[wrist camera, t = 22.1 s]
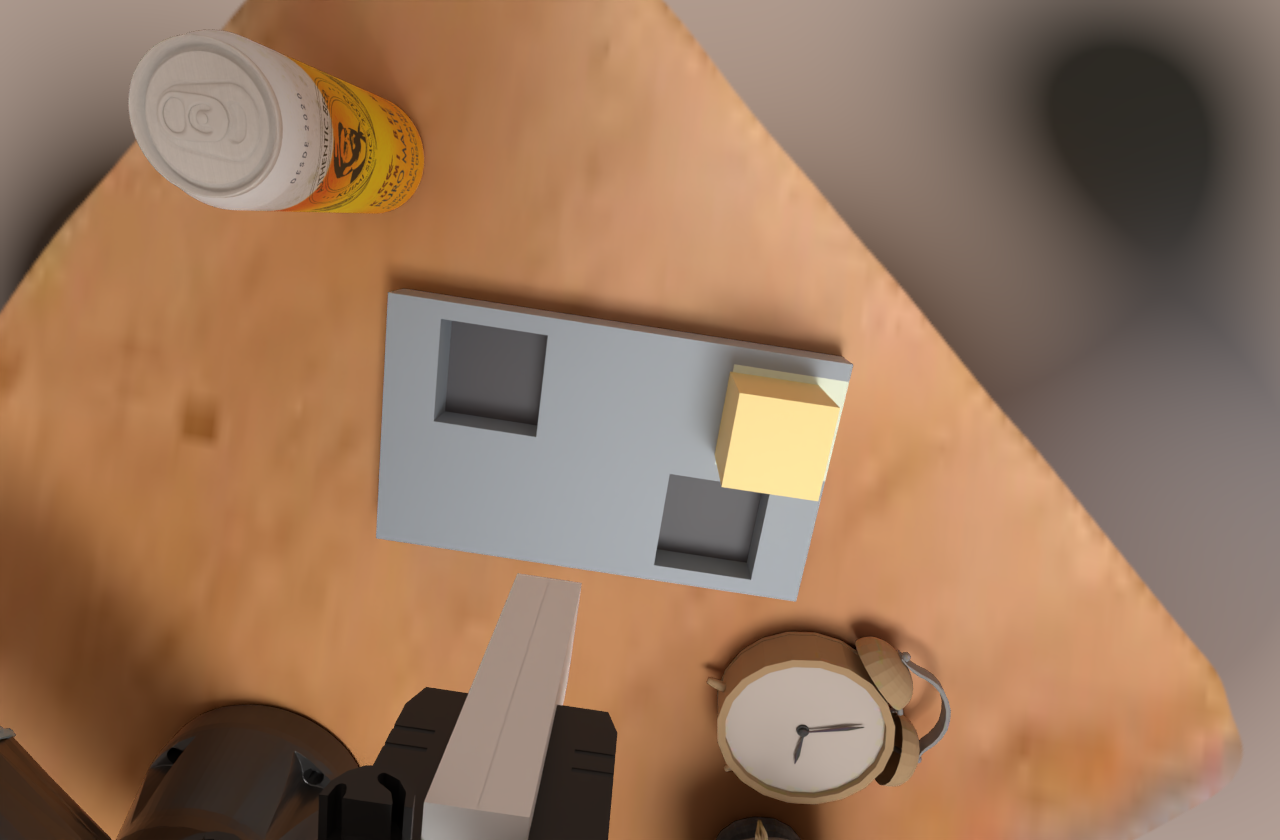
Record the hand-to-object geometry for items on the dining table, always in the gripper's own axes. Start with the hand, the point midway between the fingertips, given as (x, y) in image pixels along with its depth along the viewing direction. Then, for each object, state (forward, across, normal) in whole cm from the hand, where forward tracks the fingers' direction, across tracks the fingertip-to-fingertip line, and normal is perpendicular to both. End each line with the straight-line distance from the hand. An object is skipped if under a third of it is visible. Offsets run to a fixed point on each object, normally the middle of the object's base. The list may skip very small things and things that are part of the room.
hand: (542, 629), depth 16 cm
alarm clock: (+27, +17, -20) cm, 37 cm away
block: (+24, +9, 0) cm, 26 cm away
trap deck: (+26, 0, -4) cm, 27 cm away
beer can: (+27, -15, +10) cm, 32 cm away
